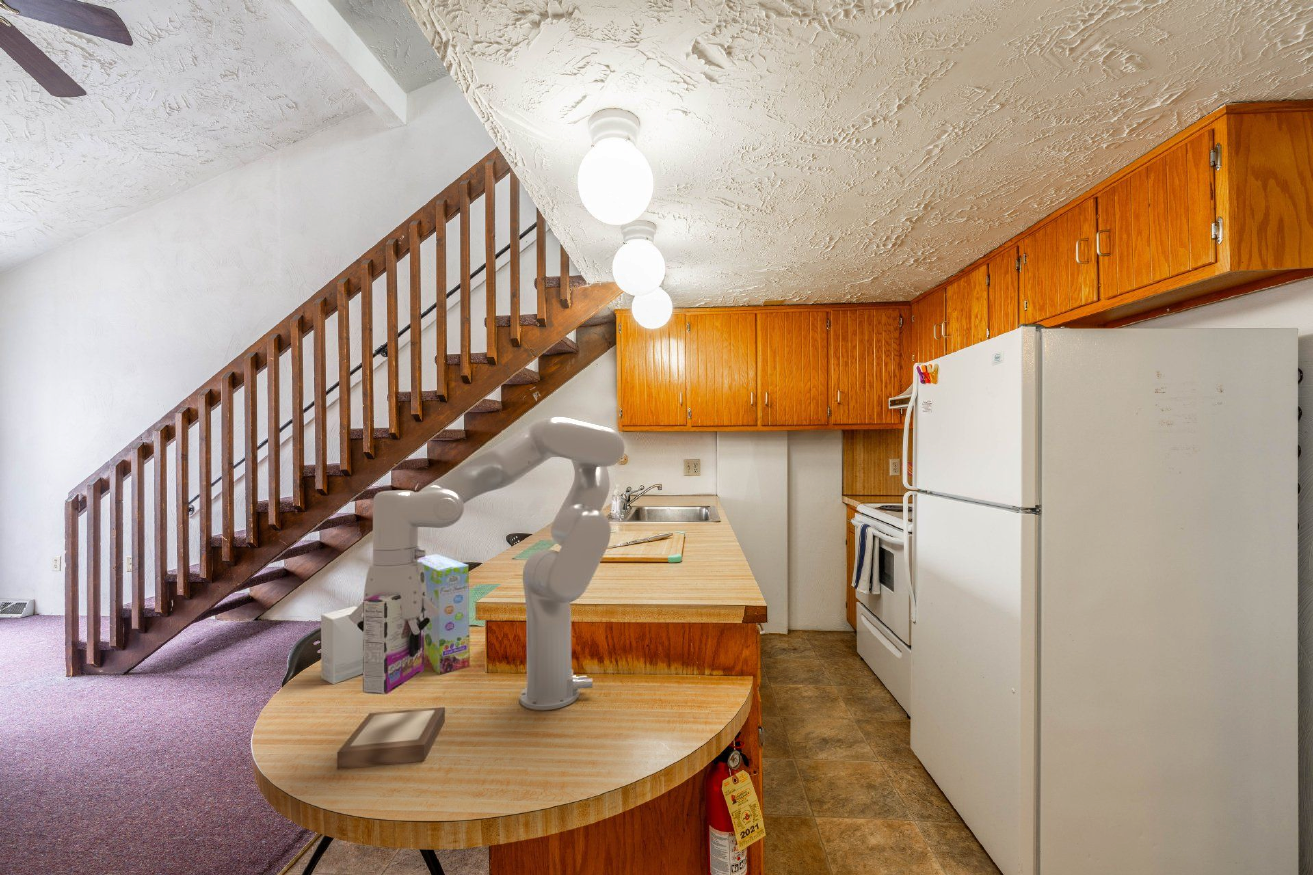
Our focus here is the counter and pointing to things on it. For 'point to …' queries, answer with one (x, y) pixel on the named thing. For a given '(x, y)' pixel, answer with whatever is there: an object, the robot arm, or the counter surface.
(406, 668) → the candy bar box
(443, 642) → the snack box
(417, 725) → the base
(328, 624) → the skincare box
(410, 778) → the counter surface
